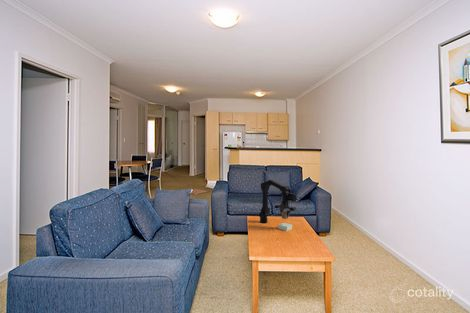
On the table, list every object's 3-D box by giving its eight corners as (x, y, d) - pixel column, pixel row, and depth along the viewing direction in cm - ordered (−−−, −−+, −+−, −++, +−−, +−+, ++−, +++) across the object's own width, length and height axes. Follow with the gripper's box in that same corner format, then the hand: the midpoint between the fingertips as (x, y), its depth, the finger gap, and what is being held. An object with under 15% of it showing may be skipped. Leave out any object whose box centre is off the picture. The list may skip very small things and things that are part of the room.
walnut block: (281, 218, 235) (281, 211, 235) (283, 217, 239) (284, 210, 238) (286, 219, 232) (286, 212, 232) (288, 218, 236) (288, 211, 236)
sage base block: (278, 229, 235) (278, 224, 235) (283, 227, 242) (283, 222, 242) (286, 231, 229) (287, 226, 229) (291, 229, 236) (292, 224, 236)
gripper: (272, 200, 234) (271, 217, 235) (291, 202, 223) (291, 220, 224) (277, 198, 243) (277, 214, 244) (296, 200, 232) (296, 218, 232)
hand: (285, 217), depth 236 cm, fingers closed on walnut block, 4 cm apart
